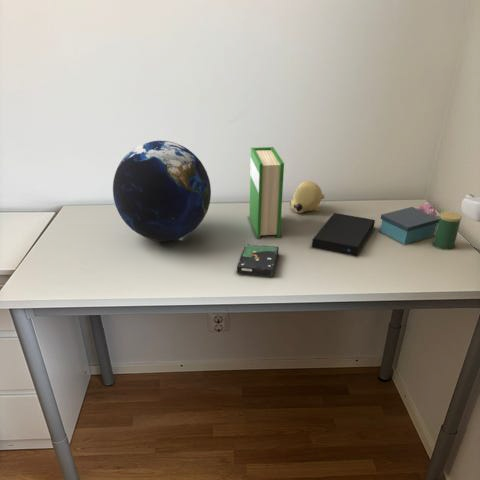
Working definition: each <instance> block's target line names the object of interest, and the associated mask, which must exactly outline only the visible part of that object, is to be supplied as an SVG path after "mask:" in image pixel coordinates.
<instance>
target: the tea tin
mask: <svg viewBox="0 0 480 480" xmlns="http://www.w3.org/2000/svg"><path fill="white" fill-rule="evenodd" d="M462 218H463V216H462V215H461V213H458V212H454V211H442V212H440V214H439V219H440V220H439V223H437V227H436V228H437V229H436V231H435V232H436V233H435V235H434V241H433V245H434V246H435V247H436V248H438V249H442V250H452V249H453V248H454V247H455V244H456V239H457V237H458V232H459V228H460V224H461V220H462Z"/></svg>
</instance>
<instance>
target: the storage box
mask: <svg viewBox="0 0 480 480" xmlns="http://www.w3.org/2000/svg"><path fill="white" fill-rule="evenodd" d="M416 208H417V207H414V206H410V207H405V208H402V209H398V210H393V211H390V212H386V213H383V214H380V218H379V219H381V224H380V229H379V232H380V233H382V234H383V235H385V236H387V237H389V238H391V239H393V240H395V241H397V242H399V243H401V244H403V245H408V244H411V243H414V242H417V241H418V242H419V241H421V240H424V239H428V238H431V237H435V234H436V233H435V232H436V230H437V229H436V228H437V225H438V224H439V220H440V217H439V218H438V217H436V216H435V217H434V216H432V215H429V214H427V213H425V212H423V211H420V210H418V209H416Z"/></svg>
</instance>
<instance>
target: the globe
mask: <svg viewBox="0 0 480 480" xmlns="http://www.w3.org/2000/svg"><path fill="white" fill-rule="evenodd" d="M112 196H113V200H114V202H113V203H114V206H115V208H116V210H117V212H118V214H119V216H120V218H121V219H122V220H123V222H124V223H125V224H126V225H127V226H128V227H129V228H130V229H131V230H132V231H134V232H135V233H136V234H139V236H142V237H144V238H146V239H148V240H152V241H159V242H168V241H170V242H171V241H175V240H178V239H181V238H183V237H186V236H188V235H189V234H191V233H192V232H193V231H194V230H196V229H197V227H199V226H200V224H201V223H202V222H203V221H204V218H205V217H206V215H207V213H208V211H209V208H210V203H211V197H212V188H211V181H210V178H209V175H208V171H207V169H206V168H205V166H204V164H203V163H202V162H201V160H200V159H199V158H198V157H197V156H196V154H195V153H194V152H193V151H191V150H189V148H187V147H186V146H183V145H181V144H179V143H176V142H174V141H169V140H151V141H147V142H144V143H141V144H139V145H138V146H136V147H134V148H132V149H131V150H130V151H129V152H127V154H125V156H123V158H122V159H121V161H120V162H119V164H118V166H117V168H116V170H115V172H114V176H113V181H112Z"/></svg>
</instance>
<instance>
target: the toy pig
mask: <svg viewBox="0 0 480 480" xmlns="http://www.w3.org/2000/svg"><path fill="white" fill-rule="evenodd" d="M325 197H326V196H325V194H323V192H322V188H321V187H320V186H319V184H317V183H316V182H314V181H311V180H304V181H302V182H301V183H299V185H298V186H297V187H296V190H295V191H294V193H293V197H292V199H291V200H290V202H289V206H290V208H291V209H292V210H293V211H294V212H295V213H298V214H303V213H305V212H311V211H315V212H317V211H319V205H320V203H321V202H322V200H324V199H325Z"/></svg>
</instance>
